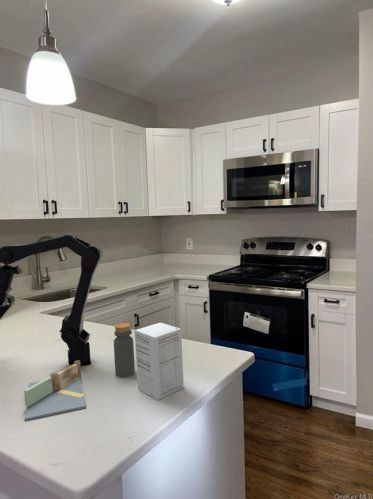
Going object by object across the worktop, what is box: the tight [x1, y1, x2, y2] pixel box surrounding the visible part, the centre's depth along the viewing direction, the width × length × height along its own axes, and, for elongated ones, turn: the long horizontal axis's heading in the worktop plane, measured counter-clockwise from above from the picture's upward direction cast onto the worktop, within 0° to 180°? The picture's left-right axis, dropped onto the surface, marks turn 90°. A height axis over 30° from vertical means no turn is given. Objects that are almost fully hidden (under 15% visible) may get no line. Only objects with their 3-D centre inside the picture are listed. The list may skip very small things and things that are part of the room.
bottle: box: [113, 322, 136, 378], centre depth 109 cm, size 6×6×15 cm
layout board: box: [24, 375, 87, 422], centre depth 97 cm, size 14×20×1 cm
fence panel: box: [23, 376, 53, 407], centre depth 94 cm, size 8×1×4 cm, turn 156°
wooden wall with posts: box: [49, 360, 82, 392], centre depth 103 cm, size 2×11×5 cm, turn 157°
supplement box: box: [134, 322, 185, 401], centre depth 98 cm, size 10×9×17 cm
